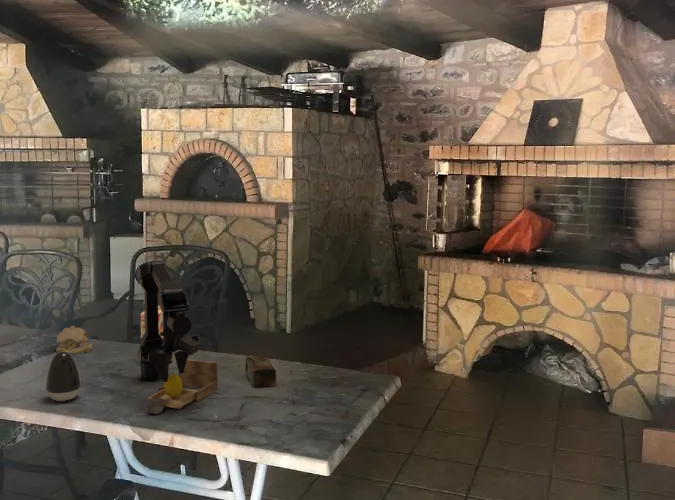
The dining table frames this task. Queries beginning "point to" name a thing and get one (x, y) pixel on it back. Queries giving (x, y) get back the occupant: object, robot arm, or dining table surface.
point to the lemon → (173, 386)
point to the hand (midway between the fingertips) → (173, 377)
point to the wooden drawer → (169, 400)
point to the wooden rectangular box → (260, 371)
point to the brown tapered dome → (63, 377)
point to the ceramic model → (73, 341)
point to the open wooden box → (199, 377)
